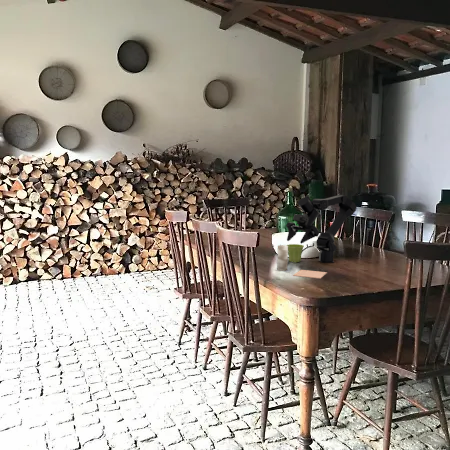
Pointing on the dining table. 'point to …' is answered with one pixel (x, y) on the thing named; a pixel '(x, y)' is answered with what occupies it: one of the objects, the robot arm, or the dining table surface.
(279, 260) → the white cylinder
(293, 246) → the plant pot
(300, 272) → the placemat
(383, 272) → the dining table surface
